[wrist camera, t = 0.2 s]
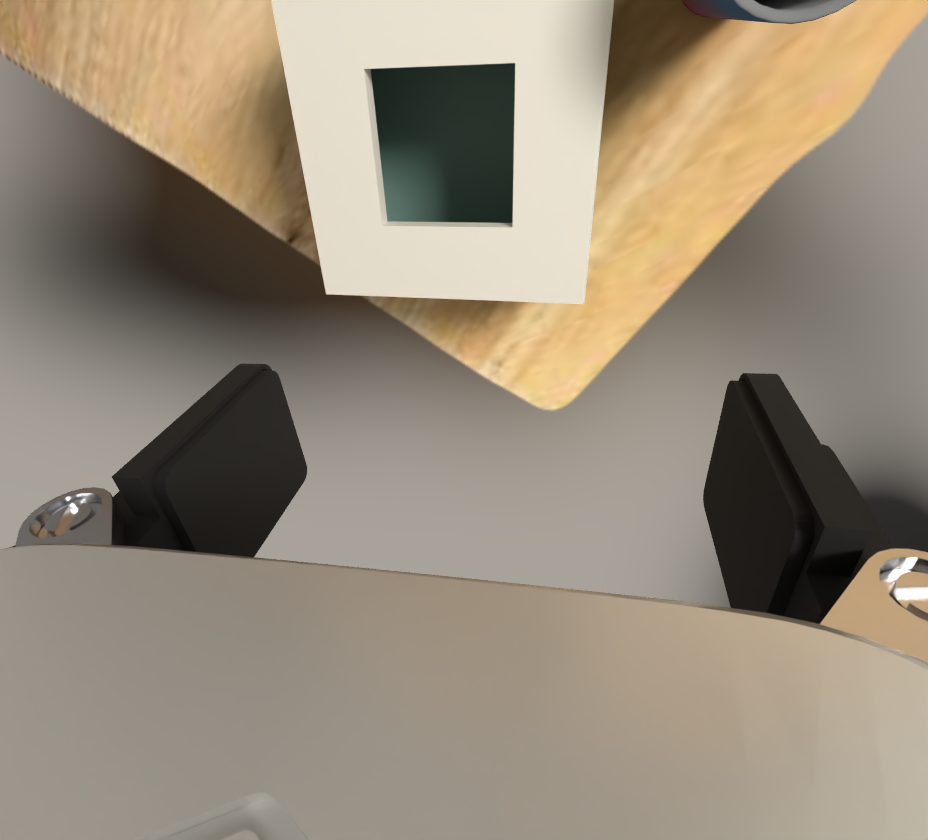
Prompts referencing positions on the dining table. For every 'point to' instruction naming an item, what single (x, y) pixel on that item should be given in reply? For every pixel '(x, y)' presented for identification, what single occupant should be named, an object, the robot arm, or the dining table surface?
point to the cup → (767, 9)
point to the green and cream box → (449, 142)
